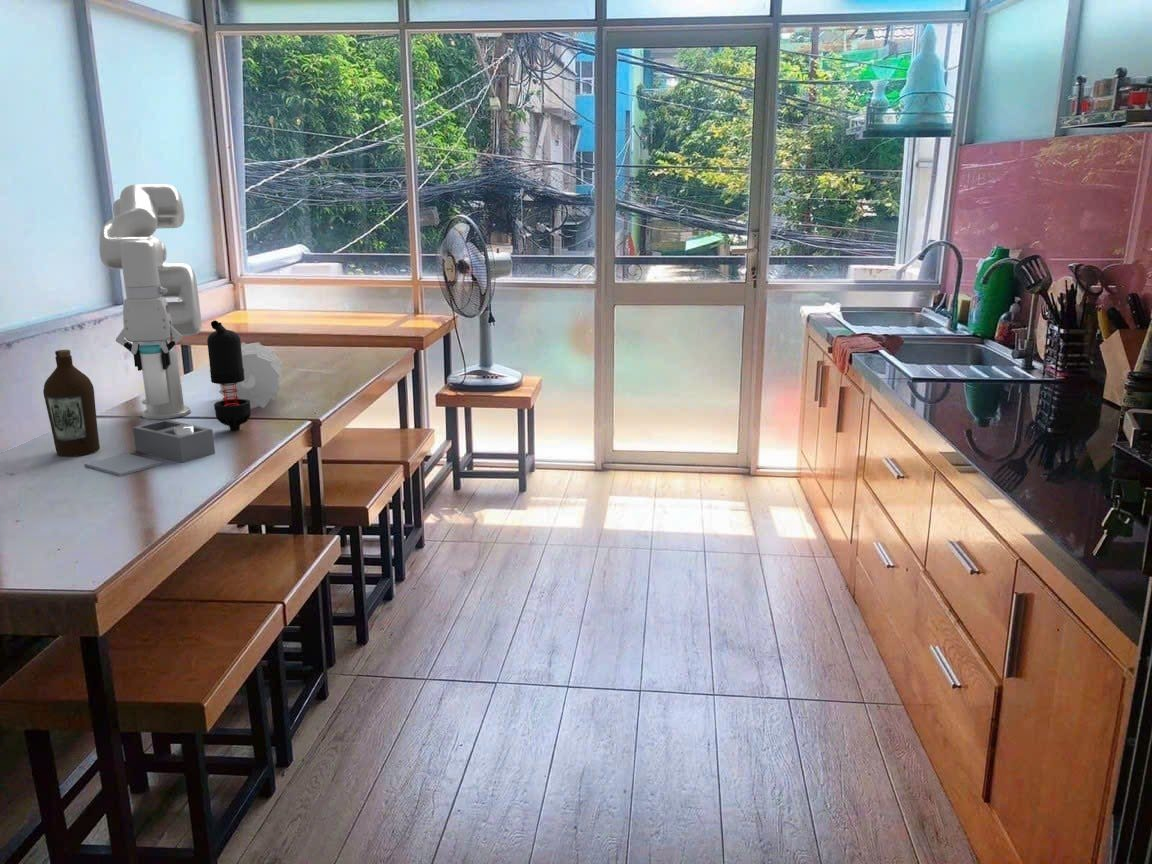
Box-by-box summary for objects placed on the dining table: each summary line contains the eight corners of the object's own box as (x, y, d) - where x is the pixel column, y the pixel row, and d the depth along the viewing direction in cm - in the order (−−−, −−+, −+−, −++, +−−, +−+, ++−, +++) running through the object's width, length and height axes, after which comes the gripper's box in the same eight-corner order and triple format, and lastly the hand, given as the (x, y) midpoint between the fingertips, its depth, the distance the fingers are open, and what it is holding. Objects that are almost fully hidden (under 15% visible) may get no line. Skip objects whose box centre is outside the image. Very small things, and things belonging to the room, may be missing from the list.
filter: (244, 435, 233) (232, 320, 225) (209, 435, 233) (196, 321, 225) (262, 422, 246) (251, 313, 238) (229, 422, 246) (217, 313, 238)
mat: (84, 466, 208) (84, 463, 208) (125, 455, 216) (124, 453, 216) (121, 475, 201) (120, 473, 201) (161, 464, 209) (160, 461, 209)
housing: (136, 451, 220) (132, 427, 218) (168, 442, 227) (165, 419, 226) (182, 462, 211) (179, 438, 209) (215, 453, 218) (212, 429, 217)
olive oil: (61, 446, 224) (45, 347, 217) (107, 444, 226) (93, 346, 219) (47, 459, 214) (30, 355, 207) (95, 456, 216) (80, 353, 209)
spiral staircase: (270, 406, 281) (268, 421, 258) (213, 385, 275) (205, 399, 251) (292, 352, 279) (291, 363, 256) (235, 330, 273) (229, 339, 250)
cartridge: (148, 400, 220) (141, 344, 216) (170, 399, 221) (163, 343, 217) (144, 405, 216) (136, 347, 212) (166, 404, 217) (159, 347, 213)
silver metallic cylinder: (172, 447, 215) (169, 427, 214) (188, 443, 219) (185, 423, 218) (183, 450, 213) (181, 430, 212) (199, 446, 217) (197, 426, 216)
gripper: (185, 290, 216) (193, 364, 222) (108, 292, 213) (118, 367, 218) (179, 294, 209) (188, 370, 215) (99, 296, 206) (111, 374, 211)
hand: (153, 368), depth 216 cm, fingers closed on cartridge, 5 cm apart
